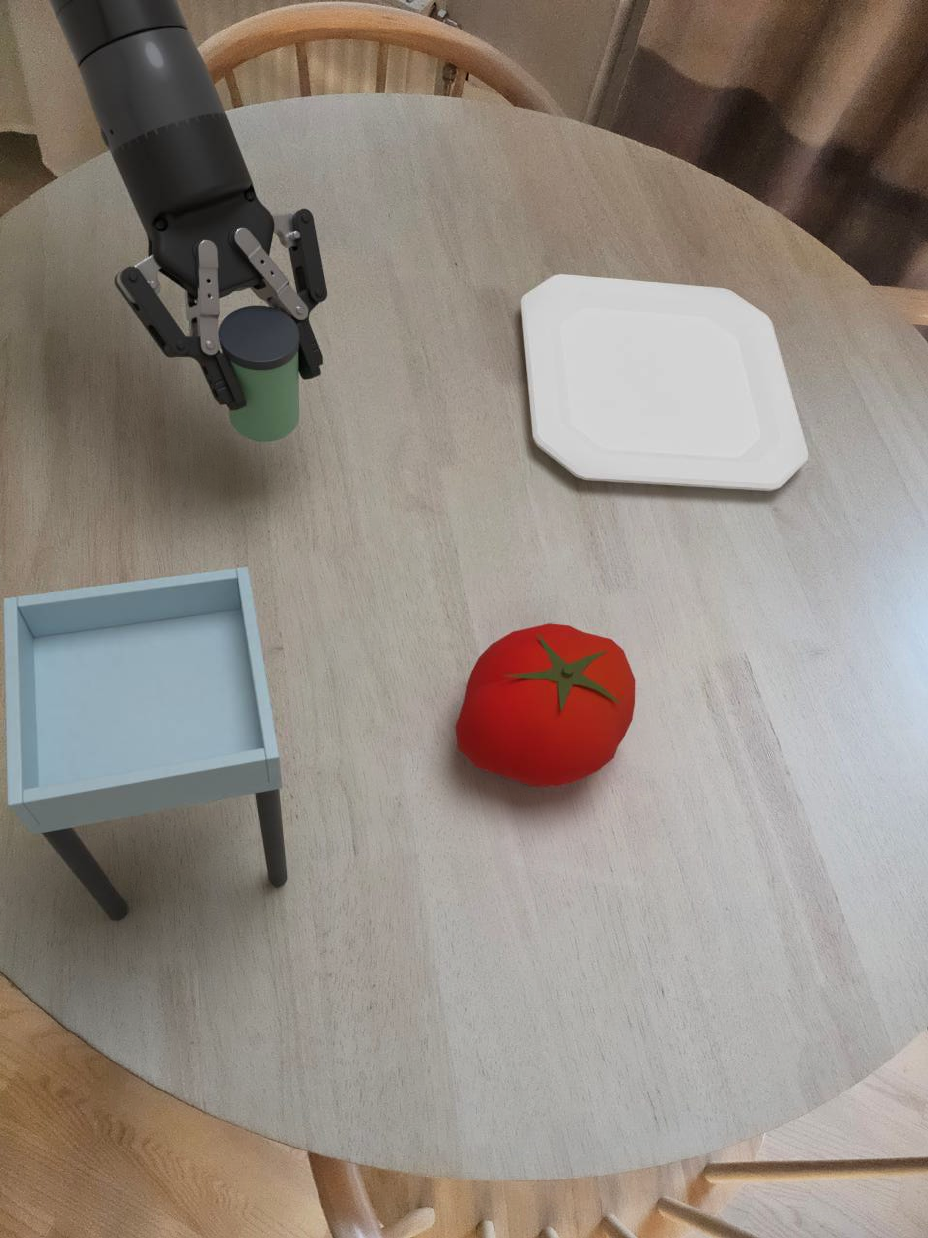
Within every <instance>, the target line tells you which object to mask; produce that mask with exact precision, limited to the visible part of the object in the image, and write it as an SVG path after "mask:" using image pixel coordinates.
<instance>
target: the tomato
mask: <svg viewBox="0 0 928 1238" xmlns="http://www.w3.org/2000/svg"><path fill="white" fill-rule="evenodd" d="M635 706H636V678H635V675H634V673H633V671H632V667H631V665H630V663H629V660H628V657H627V655H626V653H625V650H624V649H623V648H622V647H621V646H620V645H618V643H616V642H615V641H614V640H613V639H612V638H609V637H604V636H601V635H596V634H593V633H589V632H585V631H582V630H580V629H578V628H576V627H573V626H571V625H570V624H563V623H561V624H560V623H553V622H549V623H544V624H540V625H535V626H532V627H527V628H522V629H518V630H514V631H511V632H510V633H508V634H506V635H504V636H502V637H501V638H500V639H498V640H496V641H495V642H493V643H491V644H490V645H489V646H488V647H487V649H486V650H484V652H483V653H481V655H480V656H479V657H478V658H477V660H476V662H475V664H474V665H473V667H472V670H471V672H470V674H469V677H468V680H467V682H466V688H465V693H464V698H463V703H462V706H461V709H460V712H459V715H458V718H457V721H456V724H455V733H456V740H457V748H458V750H459V751H460V752H461V753H462V754H463V755H464V756H465V757H466V758H467V759H468V761H470V763H471V764H472V765H473V766H474V767H475V768H477V769H480V770H483V771H486V772H488V773H489V772H490V773H491V774H495V775H498V776H501V777H503V778H507V779H510V780H512V781H516V782H518V783H521V784H524V785H527V786H532V787H534V788H539V787H540V788H541V787H542V788H543V787H560V786H564V785H569V784H572V783H575V782H577V781H579V780H582V779H584V778H587V777H589V776H591V775H593V774H596V773H597V772H599V771H600V770H601V769H602V768H603V767H605V766H606V765H607V764H608V763H610V762H611V761H612V760H613V759H614V758H615V755H616V751H617V749H618V747H619V745H620V744H621V742H622V741H623V739H624V738H625V736H626V734H627V732H628V730H629V728H630V726H631V724H632V721H633V719H634V712H635Z"/></svg>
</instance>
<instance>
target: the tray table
mask: <svg viewBox="0 0 928 1238" xmlns="http://www.w3.org/2000/svg"><path fill="white" fill-rule="evenodd" d="M252 586H253V585H252V581H251V575H250V569H249V567H248V566H242V567H236V568H234V567H233V568H227V569H226V568H225V569H219V570H213V571H212V570H211V571H204V572H203V571H202V572H195V573H188V574H187V573H186V574H182V575H172V576H165V577H158V578H150V579H149V578H148V579H141V580H133V581H126V582H125V581H124V582H118V583H111V584H103V585H95V586H87V587H80V588H79V587H78V588H72V589H65V590H56V591H50V592H41V593H33V594H25V595H18V596H11V597H4V598H3V600H2V602H3V603H2V604H3V605H2V607H3V608H2V609H3V648H4V650H3V653H4V654H3V655H4V693H5V694H4V695H5V697H4V701H5V702H4V703H5V704H4V705H5V745H6V747H5V748H6V794H7V806H8V808H10V810H11V811H12V812H13V814H14V815H15V816H16V817H17V818H18V819H19V821H20V822H21V823H22V824H23V826H24V827H25V828H26V830H28V832H29V833H30V834H31V835H39V834H42V836H43V837H44V839H46V840H47V842H48V843H49V845H50V846H51V847H52V848H53V849H54V851H55V852H56V853H57V854H58V855H59V857H60V858H61V860H62V861H63V862H64V863H65V864H66V865H67V867H68V868H69V870H71V872H72V873H73V874H74V875H75V877H76V878H77V880H79V882H80V883H81V884H82V886H83V887H84V888H85V889H86V890H87V891H88V893H89V894H90V895H91V896H92V898H93V899H94V900H95V901H96V903H97V904H98V905H99V906H100V908H101V909H102V910H103V911H104V912H105V914H106V915H107V916H108V918H109V919H110V920H112V921H115V922H117V921H121V920H123V919H124V918H126V916H127V915H128V913H129V907H128V904H127V903H126V901H125V900H124V899H123V897H122V896H121V894H120V893H119V891H118V890H117V888H116V887H115V885H114V884H113V883H112V881H111V880H110V878H109V876H107V874H106V873H105V871H104V870H103V868H101V866H100V864H99V862H97V860H96V859H95V857H94V856H93V854H92V853H91V851H90V850H89V849H88V847H87V846H86V844H85V843H84V842H83V840H82V839H81V837H80V836H79V834H78V833H77V832H76V830H75V829H74V828H75V827H83V826H87V825H93V824H98V823H103V822H108V821H109V822H110V821H115V820H119V819H124V818H130V817H136V816H140V815H147V814H150V813H151V814H152V813H157V812H162V811H168V810H173V809H178V808H185V807H189V806H195V805H199V804H205V803H211V802H217V801H222V800H228V799H232V798H233V799H234V798H238V797H243V796H249V795H254V796H255V802H256V809H257V815H258V821H259V828H260V835H261V840H262V847H263V853H264V859H265V866H266V872H267V877H268V878H267V879H268V882H269V884H270V885H271V886H272V887H276V888H279V887H282V886H284V885H285V884H286V883H287V881H288V878H289V877H288V867H287V857H286V845H285V835H284V833H285V832H284V824H283V823H284V822H283V812H282V803H281V791H280V790H281V789H283V779H282V767H281V757H280V749H279V744H278V738H277V731H276V727H275V726H276V725H275V719H274V714H273V708H272V707H273V706H272V701H271V694H270V689H269V683H268V679H267V671H266V666H265V658H264V653H263V647H262V641H261V636H260V629H259V623H258V617H257V610H256V605H255V599H254V592H253V587H252Z"/></svg>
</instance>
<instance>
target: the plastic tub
mask: <svg viewBox="0 0 928 1238" xmlns="http://www.w3.org/2000/svg"><path fill="white" fill-rule="evenodd" d="M218 329H219V348H220V351H221V353H223V352H225V354H226V356H227V358H228V360H229V362H230V364H231V367H232V369H233V371H234V374H235V376H236V378H237V381H238V383H239V385H240V388H241V390H242V392H243V395H244V397H245V399H246V403H247V406H245V407H243V408H241V409H238V410H229V409H228V416H229V420H230V421H229V422H230V423H231V425H232V427H233V428H234V430H235V431H236V432H237V433H239V435H241V436H243V438H246V439H248V440H251V441H256V442H264V443H265V442H266V443H270V442H275V441H279V440H281V439H283V438H286V437H287V436H289V435H290V434H292V433H293V432H294V431H295V429H296V427H298V424H299V421H300V385H299V383H300V380H299V379H300V378H299V376H300V374H299V371H298V349H299V330H298V327H297V325H296V323H295V322H294V320H293V319H292V318H291V317H290V316H288V315H287V314H286V313H284V312H282V311H280V310H278V309H275V308H272V307H269V305H248V306H243V307H240V308H237V309H234V310H233V311H231V312H230V313H229V314H227V315H226V316H225V317H224V318H223V320H222V321H221V323H220V324H219V327H218Z"/></svg>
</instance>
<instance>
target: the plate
mask: <svg viewBox="0 0 928 1238" xmlns="http://www.w3.org/2000/svg"><path fill="white" fill-rule="evenodd" d="M519 304H520V315H521V316H520V317H521V325H522V326H521V327H522V338H523V347H524V359H525V369H526V380H527V391H528V402H529V412H530V423H531V425H530V426H531V434H532V440H533V442H534V443H535V445H536V447H538V448H539V449H541V451H542V452H544V453H546V454H547V455H548V456H549V457H550V458H552V459H553V460H554V461H556V462H557V463H558V464H559V465H561V467H563V468H564V469H565V470H567V471H568V472H570V474H572V475H573V476H574V477H576V478H578V479H581V480H584V481H593V482H611V483H628V484H629V483H630V484H647V485H648V484H649V485H660V486H661V485H663V486H677V487H678V486H679V487H681V486H682V487H696V488H697V487H698V488H713V489H730V490H731V489H732V490H747V491H749V490H750V491H766V492H773V491H775V490H779V489H781V488H782V487H783V486H784V485H785V484H786V483H787V482H789V480H790V479H791V478H792V477H793V476H794V475H795V474H796V473H797V472H798V471H799V470H800V469H801V468H802V467H803V466H804V465H805V464H806V463H807V462H808V459H809V455H810V454H809V449H808V446H807V443H806V439H805V436H804V431H803V428H802V425H801V421H800V417H799V414H798V410H797V406H796V403H795V399H794V397H793V396H794V395H793V392H792V389H791V385H790V381H789V377H788V375H787V370H786V367H785V363H784V360H783V356H782V353H781V349H780V345H779V342H778V337H777V334H776V330H775V327H774V323H773V320H771V319H770V317H769V316H768V315H767V314H766V313H764V312H763V311H762V310H760V309H759V308H757V307H756V306H754V305H753V304H752V303H750V302H749V301H747V300H745V299H744V298H743V297H742V296H739V294H737V293H735V292H734V291H732V290H730V289H729V288H728V289H727V288H724V287H715V286H704V285H703V286H701V285H692V284H691V285H690V284H682V283H681V284H680V283H679V284H678V283H669V282H658V281H645V280H635V279H624V278H611V277H601V276H600V277H599V276H588V275H577V274H566V273H559V274H553V275H552V276H550V277H549V278H547V279H545V280H544V281H543V282H541V283H540V284H538V285H536V286H535V287H533V288H532V289H531V290H529V291H527V292H526V293H525V294H524V295H522V297H521V299H520V301H519Z"/></svg>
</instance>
